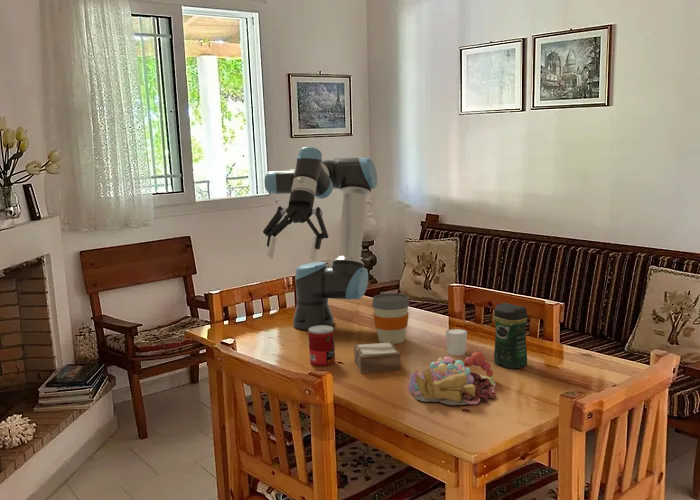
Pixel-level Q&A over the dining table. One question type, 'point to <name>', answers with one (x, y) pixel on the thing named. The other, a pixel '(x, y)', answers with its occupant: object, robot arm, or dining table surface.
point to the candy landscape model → (454, 381)
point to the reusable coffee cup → (391, 316)
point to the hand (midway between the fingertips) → (290, 258)
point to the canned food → (321, 345)
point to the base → (377, 357)
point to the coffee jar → (510, 335)
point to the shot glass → (456, 341)
